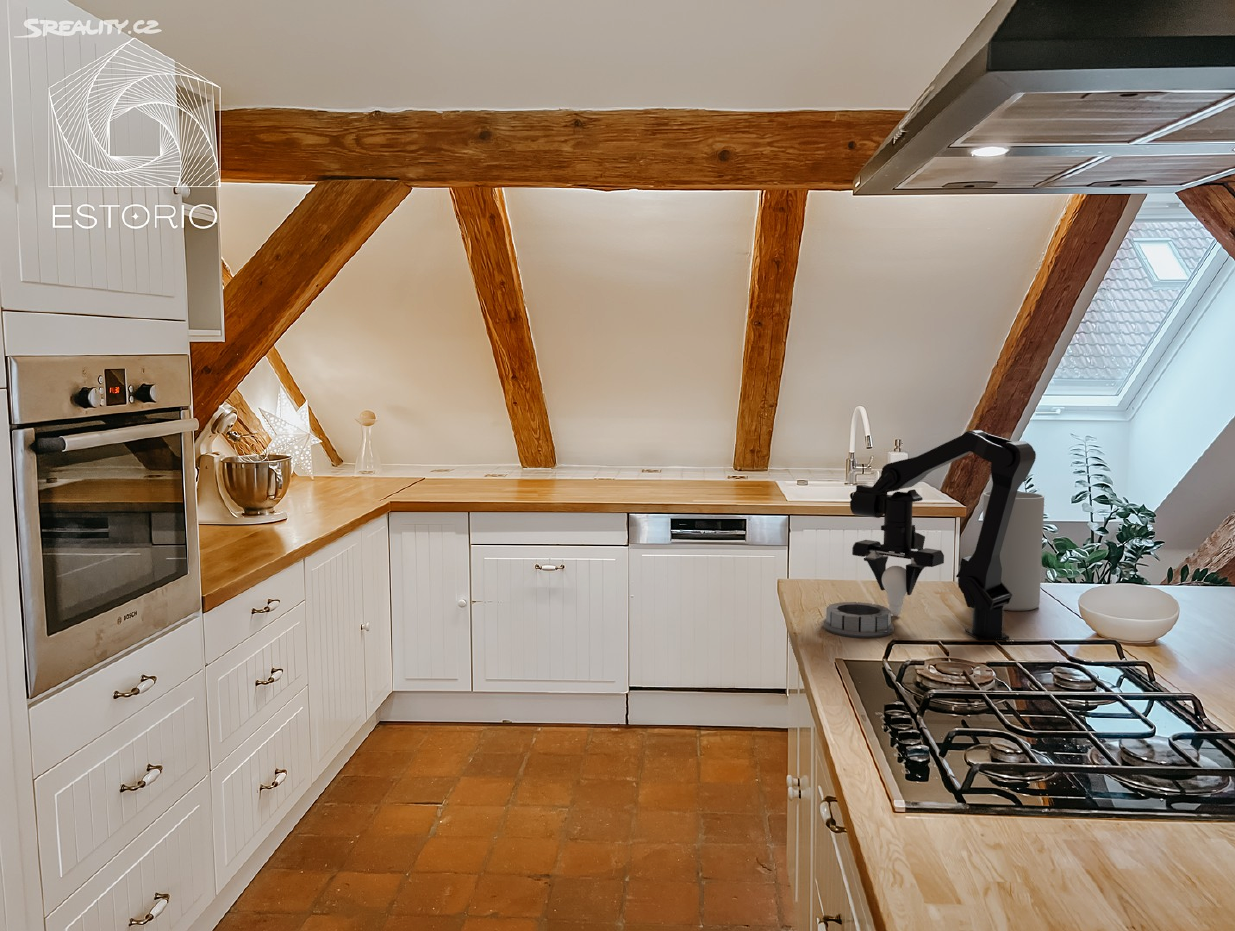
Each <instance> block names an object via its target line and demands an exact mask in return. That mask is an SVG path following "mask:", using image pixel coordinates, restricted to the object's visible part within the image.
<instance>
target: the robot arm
mask: <svg viewBox="0 0 1235 931" xmlns="http://www.w3.org/2000/svg"><path fill="white" fill-rule="evenodd" d="M971 454H975V455H976V456H977V457H979V458H981V459H982V460H983V461H986V462H989V463H990V475H991V481H992V487H991V490H990V492H991V494H990V497H989V501H988V505H987V509H986V512H985V516H984V520H983V519H982V525H981V528H980V531H979V536H978V539H977V542H976V547H975V550H974V552H973V554H972V555H969V556H966V557H962V558H961V560H960V563H959V565H960V566H959V571H958V573H957V574H956V575H955V577H956V578H958V580H957V586H958V588H959V589H960V591H961V593H962V594H963V597H964V601H965V605H966V607H968V608H970V609H971V608H972V620H971V625H972V626H971V628H965V629H964V631H965V632H966V633H967V634H968V635H970V636H972V637H973V638H974V639H976V640H978V639H980V640H979V641H981V640H983V641H984V640H985V641H987V640H989V641H990V640H991V641H992V640H995V641H996V640H1010V639H1011V638H1010V636H1009V635H1007V634H1006V633H1004V632H1003V628H1004V627H1003V626H1004V625H1003V624H1004V610H1003V607H1004V606H1003V605H1005V604H1009V602H1010V600H1011V598H1012V594H1011V592H1010V591H1009V590H1008V589H1007V588H1006V586H1005V585H1004V584H1003V583H1002V582H1001V575H1002V567H1001V562H1000V552H1001V549H1002V545H1003V541H1004V538H1005V534H1006V531H1007V527H1008V523H1009V520H1010V516H1011V512H1012V509H1013V505H1014V502H1015V498H1016V494H1017V491H1018V492H1019V488H1020V487H1021V486H1022V484H1023V483H1024V481H1025V480H1026V478H1027V477H1028V476H1029V474H1030V472H1031V470H1032V468H1033V466H1034V463H1035V461H1036V459H1037V453H1036V451H1035V449H1034V448H1033V446H1032V445H1031V444H1030V443H1028V442H1026V441H1024V440H1015V441H1013V440H1010V439H1007V438H1005V437H1004V438H1003V437H1000V436H997V435H993V434H990V433H989V432H985V431H983V430H981V429H978V430H977V429H975V430H973V429H972V430H967V431H965V432H964V433H962V435H959V436H957V437H955V438H953V439H950V440H948V441H947V442H945V443H942V444H941V445H938V446H936V447H934V448H931V449H930V450H928V451H926V452H924V453H922V454H920V455H918V456H915V457H910V458H904V459H901V460H900V459H899V460H897V461H893V462H889V463H887V464H885V465H884V466H883V467H882V469H881V475H880V476H879V477H878V479H877V480H876V481H875V483H874V485H872V486H871V485H867V484H857V485H856V486H855V488H856V489H855V491H854V492H853V493H852V496H851V500H850V502H849V507H850V508H849V509H850V511H851V513H852V514H853V515H855V516H861V517H868V518H875V519H881V518H882V517H883V516H884V518H883V519H884V520H883V521H884V522H883V524H882V525H880V530H881V531H883V543H882V544H881V542H880V541H879V540H878V541H877V540H872V539H871V540H870V539H863V540H859V541H855V542H854V543H853V545H852V551H851V552H852V554H851V555H852V556H857V557H862V558H863V557H864V558H863V561H864V562H867V565H868V566H869V567H870V569H871V571H872V572H873V575H874V577H875V580H876V582H877V585H878V586H879V589H880V591H885V589H884V587H883V584H882V575H883V573H884V571H885V570H886V569H887V568H886V565H887V562H888V559H889V557H894V558H900V559H907V560H910V563H909V564H906V565H905V569H906V590H907V592H906V595H908V596H910V595H912V594H913V590H914V587H915V586H916V583H917V581H918V578H919V577H920V574H921V573H922V571H923V570H924V569H925V568H934V567H937V566H939V565H943V564H945V554H944V553H943V552H942V549H941V550H940V549H934V548H928V547H927V548H924V544H925V541H926V540H925V539H926V536H925V535H923V534H921V533H918V532H917V531H916V525H915V524H913V504H914V503H915V502H921V501H923V497H922V496H921V495H920V494H919V493H918V492H917V491H916V489H909V488H912V487H914V486H916V485H917V484H918V483H920V482H921V481H922V480H924V478H926V477H927V476H928V474H930V473H931V472H933V471H935V470H937V469H940V468H942V467H944V466H946V465H948V464H951V463H953V462H954V461H957V460H959V459H961V458H963V457H966V456H968V455H971ZM903 489H909V490H907V491H906V492H905V491H899V490H903ZM890 492H893V493H892V494H888V493H890Z"/></svg>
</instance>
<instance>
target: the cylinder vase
mask: <svg viewBox="0 0 1235 931" xmlns="http://www.w3.org/2000/svg"><path fill="white" fill-rule="evenodd" d="M990 494H991V491H985V492H983V498H982V499H983V502H982V521H983V520H984V516H985V512H986V509H987V505H988V501H989V497H990ZM1044 510H1045V495H1043V494H1040V493H1036V492H1028V491H1019V490H1018V491H1017V494H1016V498H1015V502H1014V505H1013V509H1012V512H1011V516H1010V520H1009V523H1008V527H1007V531H1006V534H1005V538H1004V541H1003V545H1002V549H1001V552H1000V562H1001V567H1002V575H1001V582H1002V583H1003V584H1004V585H1005V586H1006V588H1007V589H1008V590H1009V591H1010V592H1011V594H1012V598H1011V600H1010V602H1009V604H1005V605H1003V606H1004V607H1003V611H1013V612H1017V611H1018V612H1024V611H1026V612H1027V611H1033V610H1035V609H1037V608H1038V607H1039V606H1040V603H1041V602H1040V599H1041V583H1042V582H1041V579H1042V576H1041V575H1042V558H1043V556H1042V554H1043V535H1044V514H1045V512H1044Z"/></svg>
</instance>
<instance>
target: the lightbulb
mask: <svg viewBox="0 0 1235 931" xmlns="http://www.w3.org/2000/svg"><path fill="white" fill-rule="evenodd" d="M882 584H883V587H884V589H885V590H884V591H885V593H886V596H887V602H888V605H889V606H888V609H889V610H890V611H891V616H892V617H898V616H899V615H901V614H902V611H903V605H904V601H905V600H904V599H905V596H906V595H907V590H906V567H905V568H904V567H903V566H900V565H891V566H889V567H888V568H886V570H885V571H884V573H883V575H882Z"/></svg>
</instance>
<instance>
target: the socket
mask: <svg viewBox="0 0 1235 931" xmlns="http://www.w3.org/2000/svg"><path fill="white" fill-rule="evenodd" d="M825 610H826V613H825V614H826V615H825V619H824V620H823V623H822V625H823V626H822V627H823V630H824V631H826V632H827V633H830V634H833V635H837V636H840V637H846V638H853V639H854V638H855V639H877V638H879V639H880V638H885V637H888V636H891V635H892V634H893V633H894V629H895V628H894V627H895V626H894V623H892V622H891V621H892V614H891V611H890V610H889V607H886V606H882V605H880V604H876V603H872V602H871V603H869V602H862V601H858V602H856V601H843V602H837V603H832V604H829V605H828V606H827V607H826V609H825Z"/></svg>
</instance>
